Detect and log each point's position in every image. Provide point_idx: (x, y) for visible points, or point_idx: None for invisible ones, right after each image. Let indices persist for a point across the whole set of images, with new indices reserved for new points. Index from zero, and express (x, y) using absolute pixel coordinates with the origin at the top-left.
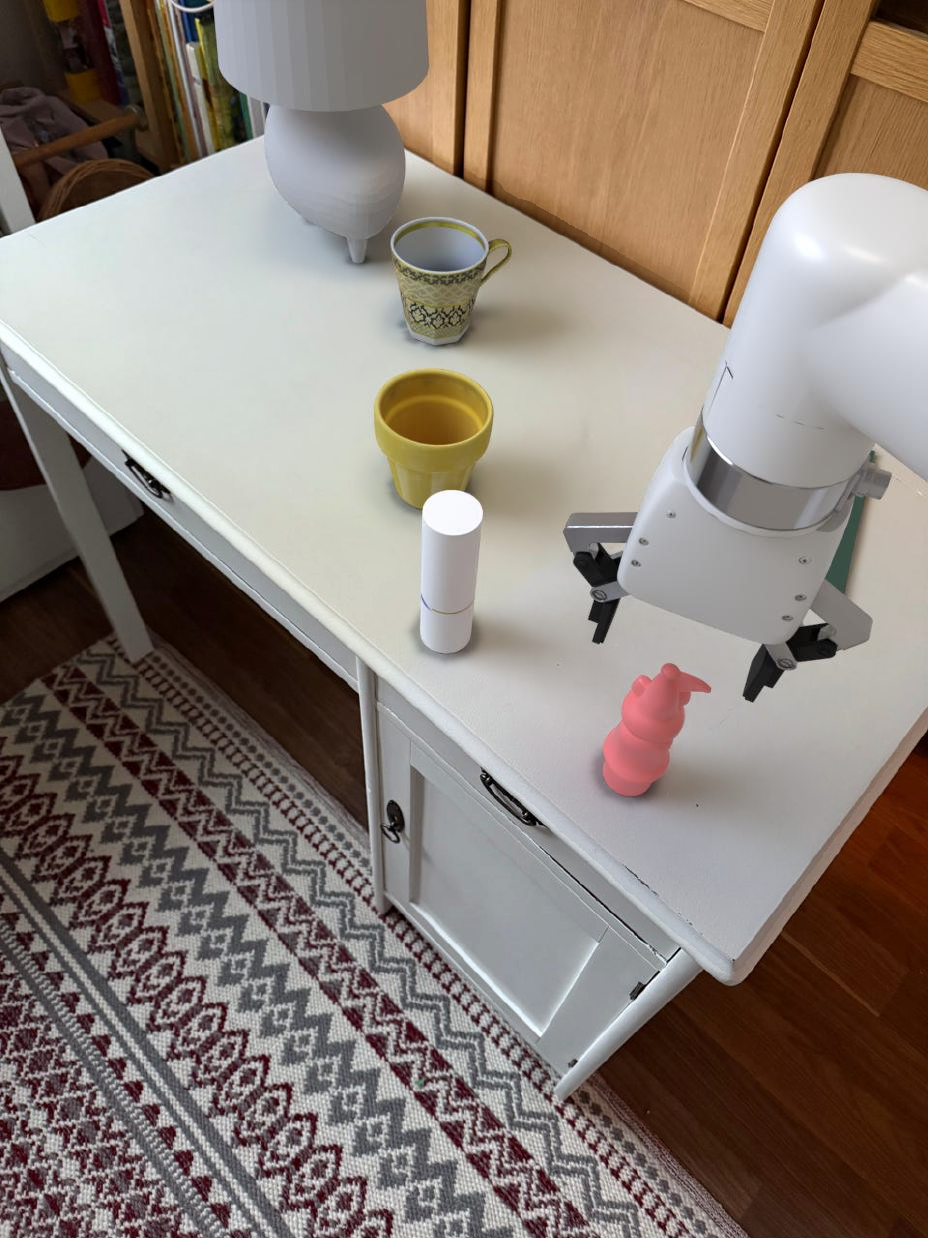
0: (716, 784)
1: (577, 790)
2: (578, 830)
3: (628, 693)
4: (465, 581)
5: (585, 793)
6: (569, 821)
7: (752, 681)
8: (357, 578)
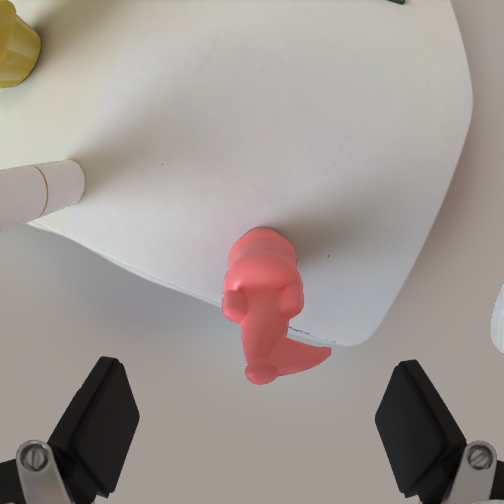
0: (342, 230)
1: None
2: None
3: (225, 284)
4: (13, 217)
5: None
6: None
7: (388, 456)
8: None
